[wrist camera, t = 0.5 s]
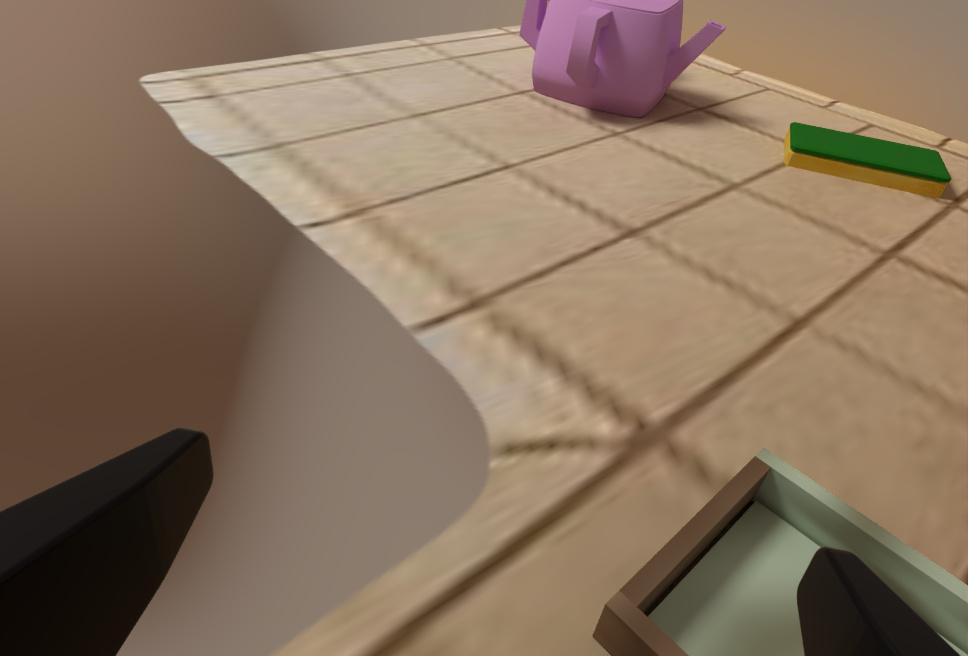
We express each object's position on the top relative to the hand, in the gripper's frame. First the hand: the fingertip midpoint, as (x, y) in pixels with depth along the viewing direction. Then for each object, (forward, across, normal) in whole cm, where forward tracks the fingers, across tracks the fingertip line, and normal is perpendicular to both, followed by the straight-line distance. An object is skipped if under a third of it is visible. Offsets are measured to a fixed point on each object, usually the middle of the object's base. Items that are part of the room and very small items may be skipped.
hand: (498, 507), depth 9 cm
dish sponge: (+60, -29, +7) cm, 67 cm away
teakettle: (+72, -4, +4) cm, 72 cm away
